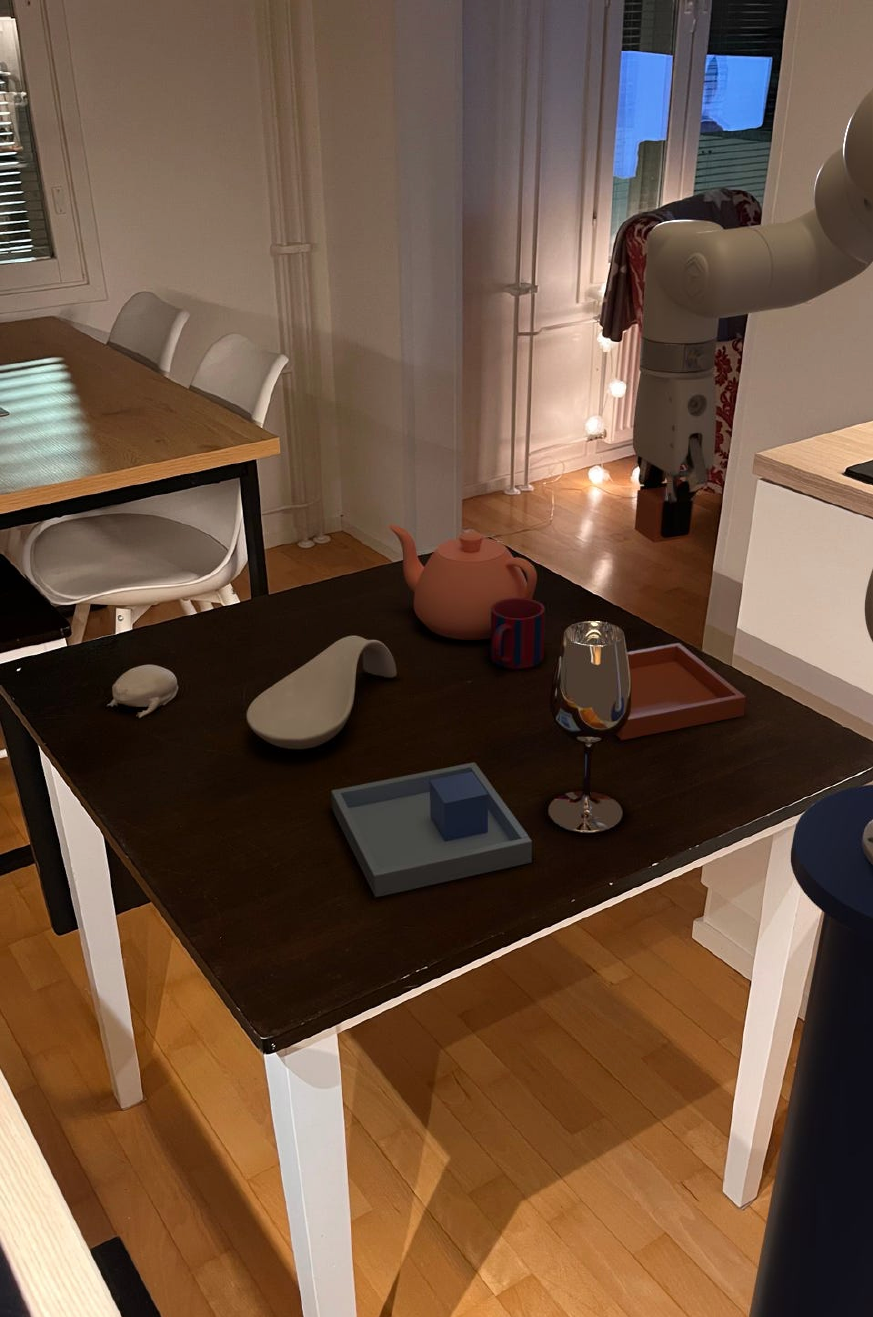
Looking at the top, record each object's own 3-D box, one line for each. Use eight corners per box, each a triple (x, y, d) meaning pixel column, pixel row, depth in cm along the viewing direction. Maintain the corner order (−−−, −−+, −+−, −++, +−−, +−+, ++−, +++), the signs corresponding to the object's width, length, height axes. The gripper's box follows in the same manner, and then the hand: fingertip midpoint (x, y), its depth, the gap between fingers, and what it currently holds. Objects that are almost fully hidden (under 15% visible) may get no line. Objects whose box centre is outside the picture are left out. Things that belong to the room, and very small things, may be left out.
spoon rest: (317, 773, 128) (312, 715, 124) (229, 750, 133) (221, 693, 129) (421, 682, 146) (419, 629, 142) (339, 664, 151) (335, 612, 147)
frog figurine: (140, 720, 139) (135, 692, 137) (100, 706, 143) (95, 678, 141) (188, 693, 145) (184, 666, 143) (149, 680, 148) (144, 653, 146)
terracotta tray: (743, 715, 137) (746, 696, 135) (621, 740, 133) (622, 720, 131) (677, 660, 149) (679, 642, 148) (564, 681, 145) (565, 662, 144)
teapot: (366, 629, 160) (361, 541, 153) (420, 588, 171) (417, 504, 165) (516, 658, 151) (517, 566, 144) (562, 613, 163) (565, 526, 156)
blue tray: (531, 862, 113) (532, 841, 112) (375, 897, 109) (373, 875, 108) (474, 782, 126) (474, 761, 125) (332, 810, 122) (331, 790, 120)
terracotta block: (690, 537, 129) (694, 497, 127) (653, 543, 128) (656, 502, 125) (670, 524, 133) (674, 484, 130) (634, 529, 131) (637, 489, 129)
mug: (552, 653, 152) (554, 604, 148) (513, 684, 145) (514, 633, 141) (507, 642, 155) (508, 593, 152) (467, 671, 148) (466, 621, 144)
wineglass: (534, 802, 122) (538, 624, 112) (601, 786, 124) (611, 610, 114) (567, 842, 116) (575, 657, 105) (638, 824, 118) (652, 642, 108)
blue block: (488, 832, 117) (488, 794, 114) (445, 841, 116) (444, 803, 113) (472, 809, 120) (471, 771, 118) (430, 817, 119) (429, 780, 117)
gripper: (754, 369, 114) (733, 549, 124) (670, 335, 128) (657, 499, 138) (685, 377, 112) (669, 559, 122) (607, 342, 126) (598, 508, 136)
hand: (663, 525), depth 130 cm, fingers closed on terracotta block, 4 cm apart
